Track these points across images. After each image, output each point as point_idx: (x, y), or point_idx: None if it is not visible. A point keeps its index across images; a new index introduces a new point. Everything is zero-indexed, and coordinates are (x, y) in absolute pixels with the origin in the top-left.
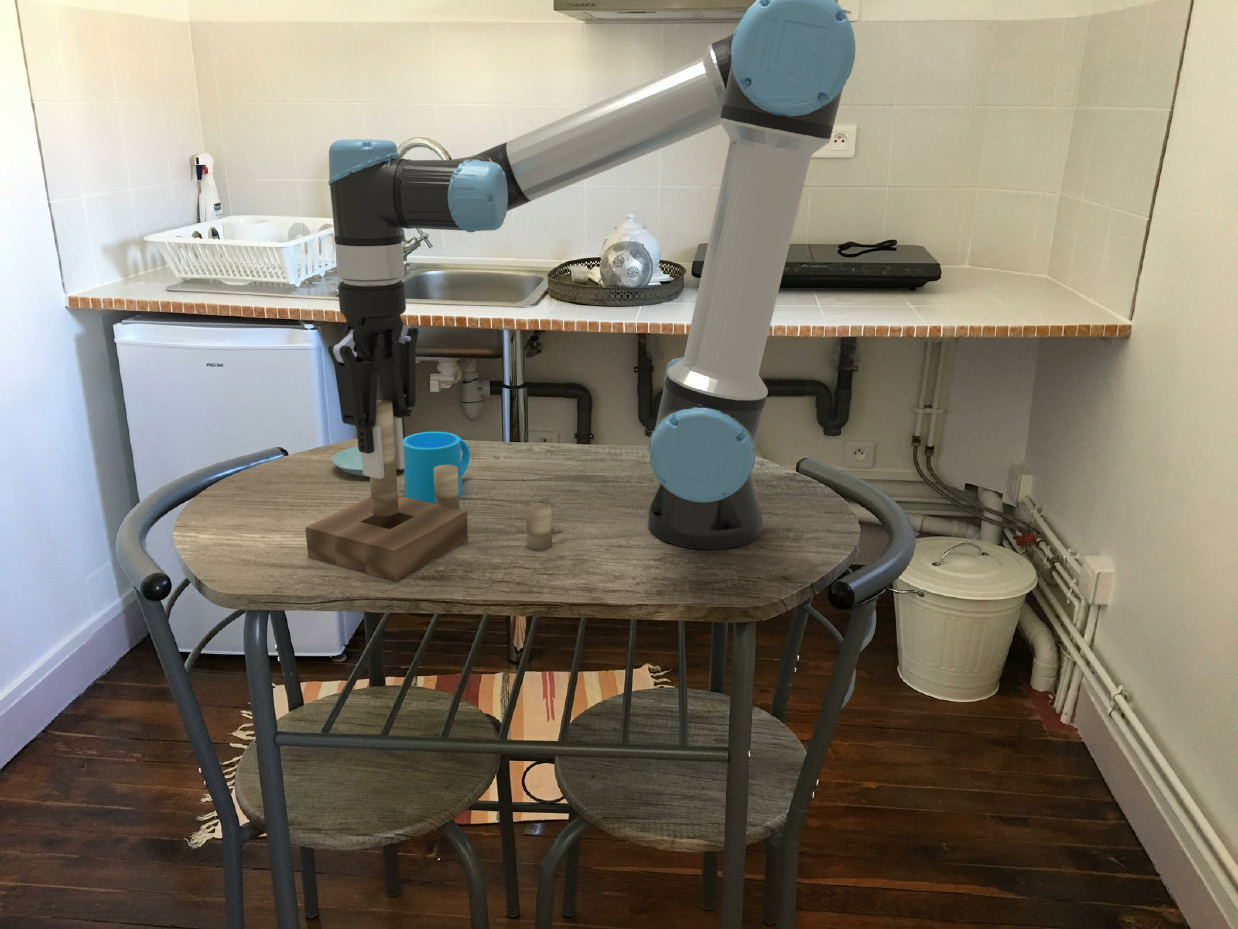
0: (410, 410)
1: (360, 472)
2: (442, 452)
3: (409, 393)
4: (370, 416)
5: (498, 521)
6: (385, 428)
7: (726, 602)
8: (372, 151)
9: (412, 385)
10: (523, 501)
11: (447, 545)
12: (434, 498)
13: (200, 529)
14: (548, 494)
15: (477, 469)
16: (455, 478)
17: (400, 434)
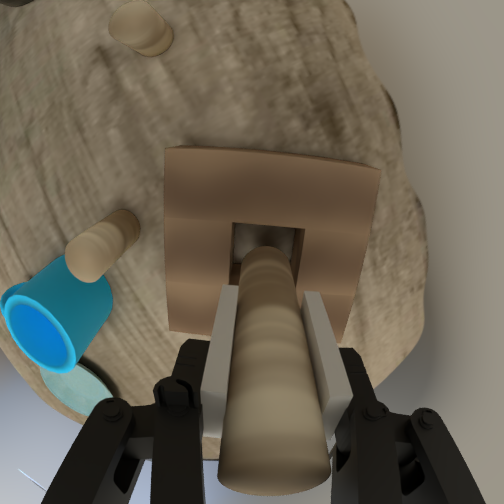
0: (158, 391)
1: (106, 386)
2: (46, 302)
3: (114, 452)
4: (384, 434)
5: (100, 148)
6: (300, 384)
7: None
8: None
9: (81, 470)
10: (35, 165)
11: (235, 148)
12: None
13: None
14: (9, 152)
15: (9, 281)
16: (88, 232)
17: (221, 348)
